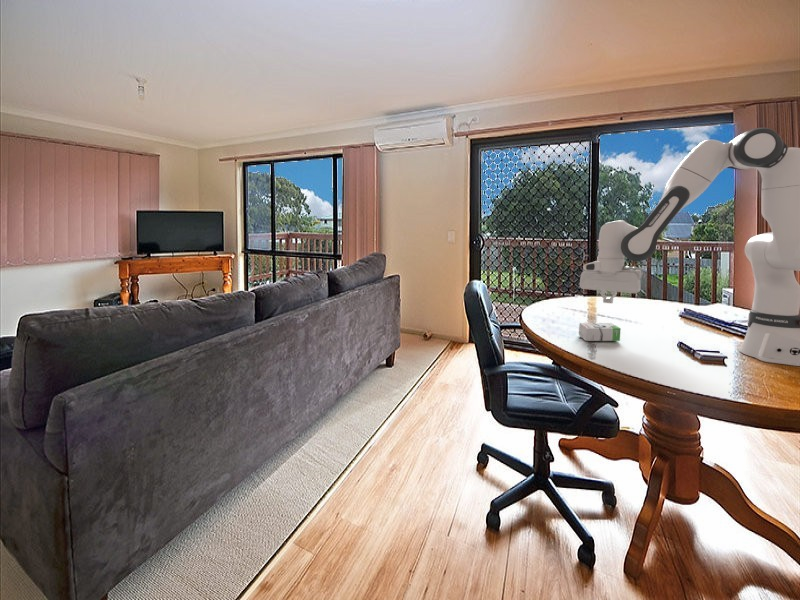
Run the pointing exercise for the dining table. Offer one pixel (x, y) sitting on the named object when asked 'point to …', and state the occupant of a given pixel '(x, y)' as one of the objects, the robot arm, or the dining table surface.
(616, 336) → the ink box
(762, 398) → the dining table surface
